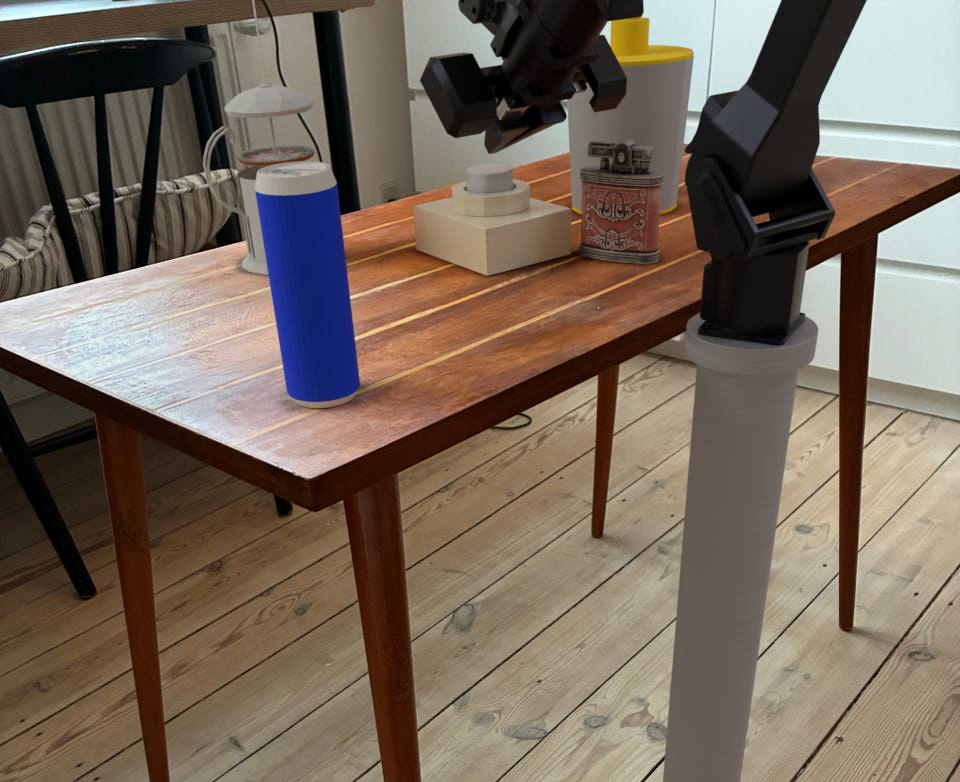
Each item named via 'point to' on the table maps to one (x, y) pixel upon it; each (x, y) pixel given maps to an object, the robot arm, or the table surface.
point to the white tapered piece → (637, 109)
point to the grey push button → (489, 178)
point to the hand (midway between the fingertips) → (489, 149)
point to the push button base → (493, 229)
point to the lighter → (620, 204)
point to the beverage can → (308, 281)
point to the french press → (259, 154)
